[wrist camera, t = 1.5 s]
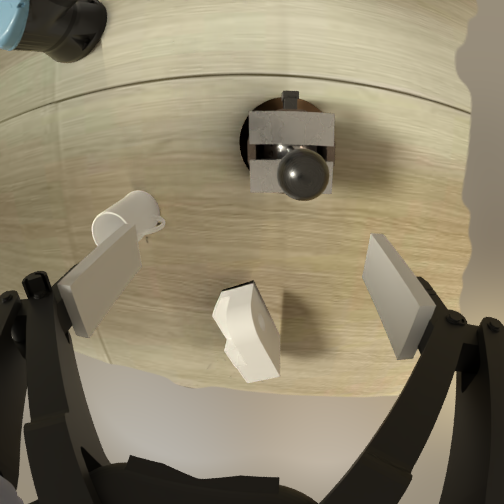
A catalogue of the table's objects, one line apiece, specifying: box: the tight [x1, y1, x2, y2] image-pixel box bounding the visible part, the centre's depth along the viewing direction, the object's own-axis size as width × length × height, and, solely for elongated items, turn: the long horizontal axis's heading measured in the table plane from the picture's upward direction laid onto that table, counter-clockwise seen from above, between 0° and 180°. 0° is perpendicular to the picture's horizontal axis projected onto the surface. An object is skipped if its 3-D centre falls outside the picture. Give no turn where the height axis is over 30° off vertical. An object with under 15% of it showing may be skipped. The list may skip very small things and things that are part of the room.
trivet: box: [239, 97, 322, 171], centre depth 46 cm, size 16×16×1 cm
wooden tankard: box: [247, 91, 335, 194], centre depth 39 cm, size 14×12×13 cm
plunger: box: [264, 144, 329, 201], centre depth 29 cm, size 7×7×21 cm
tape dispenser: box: [212, 280, 280, 383], centre depth 57 cm, size 16×10×13 cm, turn 22°
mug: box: [92, 190, 165, 246], centre depth 48 cm, size 12×8×12 cm
